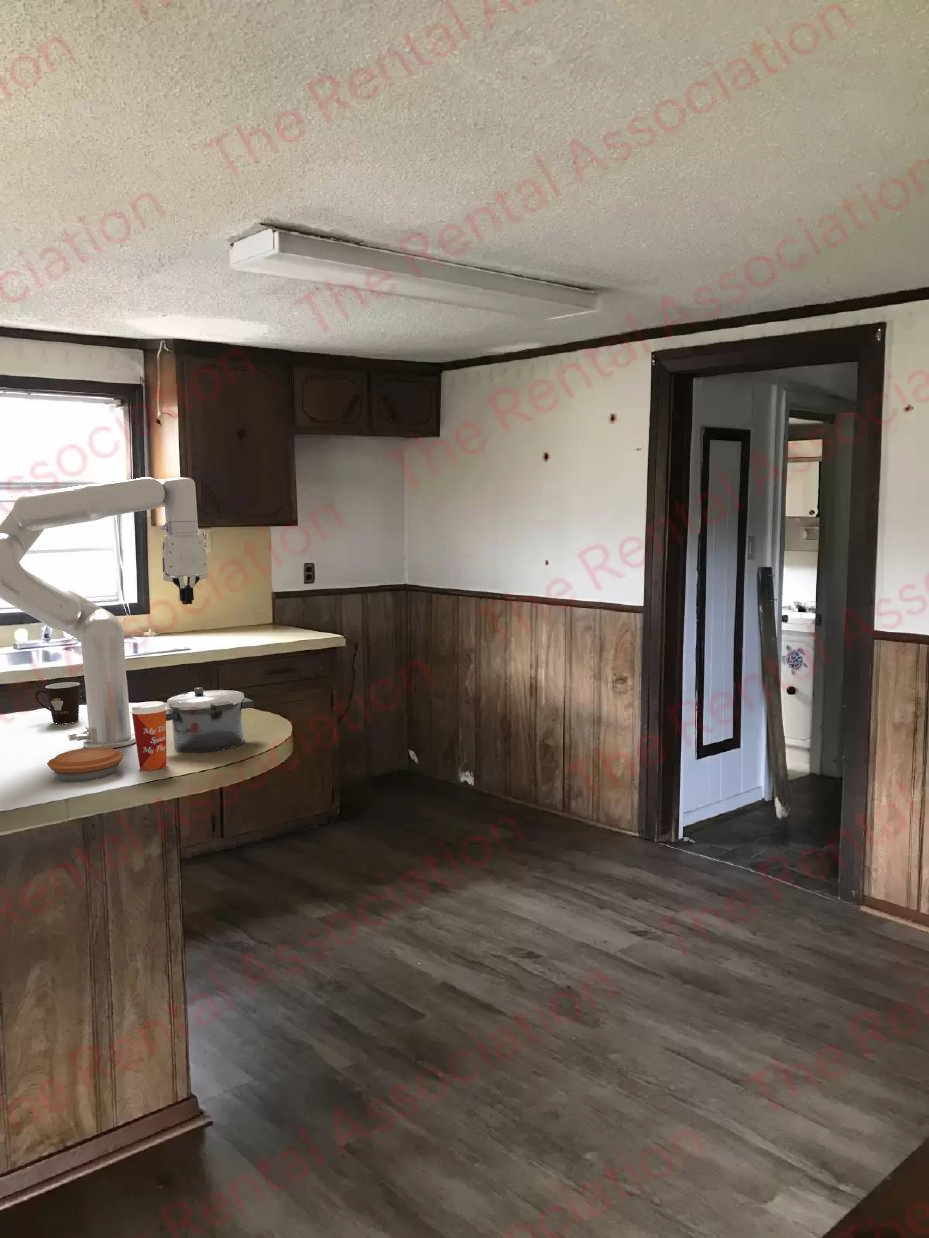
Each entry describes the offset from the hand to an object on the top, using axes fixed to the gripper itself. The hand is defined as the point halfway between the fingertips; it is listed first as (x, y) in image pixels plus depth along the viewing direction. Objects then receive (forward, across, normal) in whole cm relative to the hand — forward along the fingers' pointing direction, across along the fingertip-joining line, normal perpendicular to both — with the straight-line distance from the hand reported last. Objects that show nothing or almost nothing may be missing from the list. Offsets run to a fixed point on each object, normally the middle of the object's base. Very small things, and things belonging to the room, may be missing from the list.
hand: (187, 603), depth 248 cm
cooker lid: (+23, -1, -15) cm, 27 cm away
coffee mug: (+33, -24, +41) cm, 58 cm away
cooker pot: (+33, -1, -12) cm, 35 cm away
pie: (+33, -31, -22) cm, 50 cm away
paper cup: (+33, -18, -26) cm, 45 cm away
